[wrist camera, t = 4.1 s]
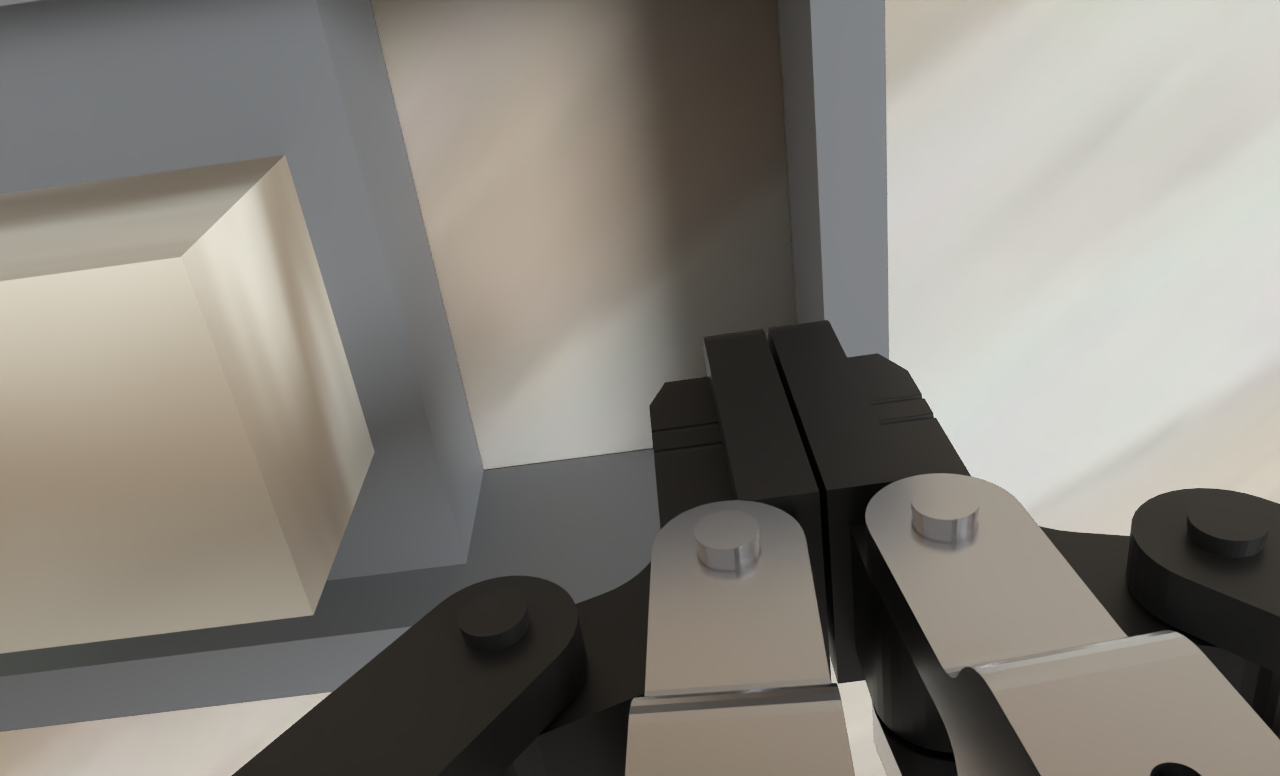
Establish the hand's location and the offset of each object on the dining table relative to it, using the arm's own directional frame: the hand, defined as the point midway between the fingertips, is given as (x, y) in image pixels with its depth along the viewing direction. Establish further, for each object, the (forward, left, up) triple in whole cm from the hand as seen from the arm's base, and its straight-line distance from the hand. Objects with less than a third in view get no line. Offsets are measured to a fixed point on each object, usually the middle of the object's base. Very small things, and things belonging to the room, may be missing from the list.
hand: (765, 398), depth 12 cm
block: (0, -9, -4) cm, 9 cm away
